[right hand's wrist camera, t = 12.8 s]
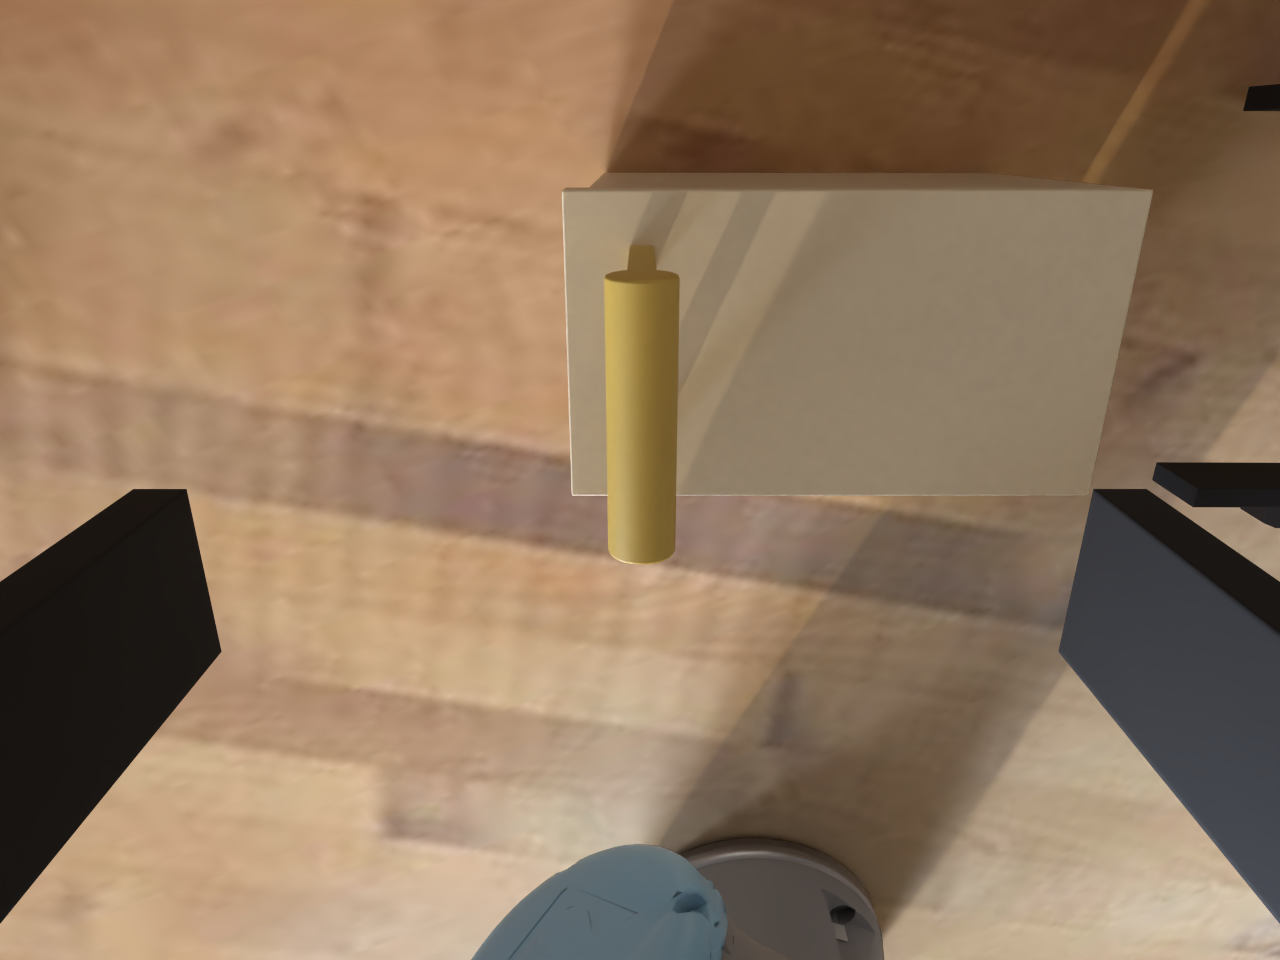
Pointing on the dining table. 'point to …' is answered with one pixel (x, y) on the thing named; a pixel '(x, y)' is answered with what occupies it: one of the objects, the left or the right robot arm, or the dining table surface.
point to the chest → (831, 180)
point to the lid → (839, 343)
